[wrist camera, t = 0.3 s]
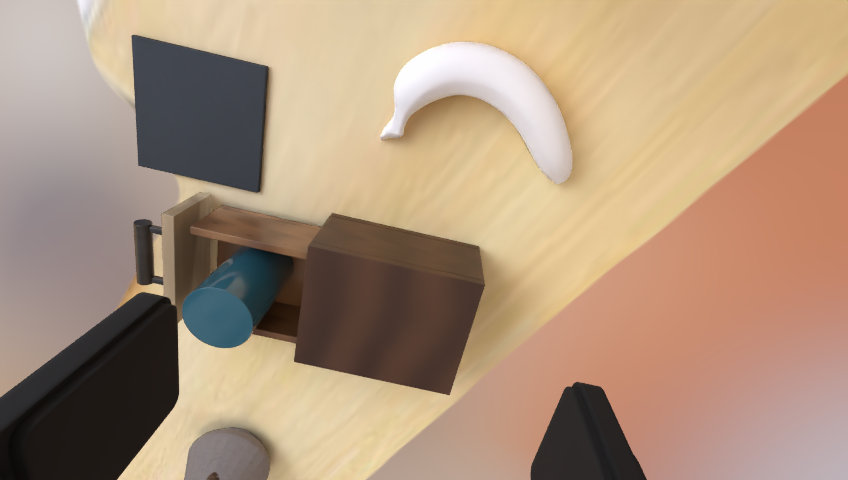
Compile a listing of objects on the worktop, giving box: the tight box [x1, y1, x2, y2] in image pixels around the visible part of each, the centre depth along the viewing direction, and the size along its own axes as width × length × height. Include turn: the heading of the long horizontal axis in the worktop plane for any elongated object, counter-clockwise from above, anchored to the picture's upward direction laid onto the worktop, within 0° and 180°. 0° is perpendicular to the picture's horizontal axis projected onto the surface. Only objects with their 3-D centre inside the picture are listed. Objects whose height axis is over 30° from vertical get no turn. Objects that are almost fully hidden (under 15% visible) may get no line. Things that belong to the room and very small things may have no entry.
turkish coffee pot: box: [184, 427, 270, 480], centre depth 55 cm, size 21×12×15 cm, turn 153°
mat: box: [132, 35, 268, 193], centre depth 44 cm, size 13×13×1 cm
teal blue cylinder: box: [182, 245, 294, 348], centre depth 44 cm, size 8×6×11 cm
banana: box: [380, 42, 572, 184], centre depth 42 cm, size 5×19×15 cm
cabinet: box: [294, 213, 485, 395], centre depth 47 cm, size 17×14×9 cm
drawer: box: [134, 192, 321, 343], centre depth 46 cm, size 20×13×7 cm, turn 78°
